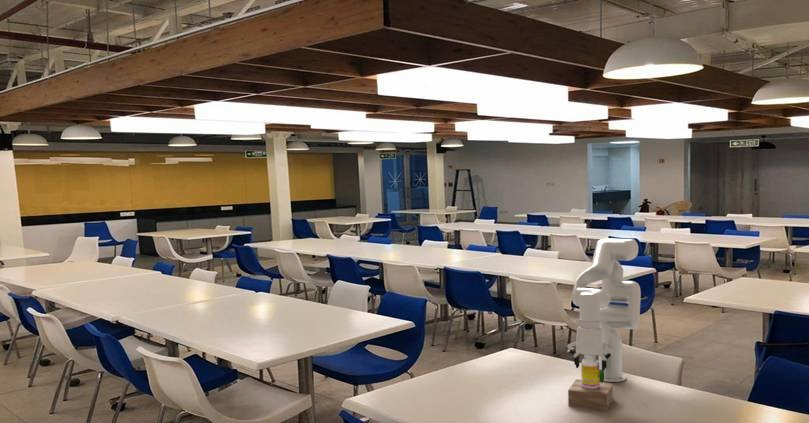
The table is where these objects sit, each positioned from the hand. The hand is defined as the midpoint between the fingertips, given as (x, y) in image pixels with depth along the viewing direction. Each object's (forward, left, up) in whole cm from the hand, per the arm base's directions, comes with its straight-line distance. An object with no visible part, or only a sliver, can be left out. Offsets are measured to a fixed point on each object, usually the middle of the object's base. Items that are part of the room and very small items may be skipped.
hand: (590, 368), depth 237 cm
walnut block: (0, 0, -13) cm, 13 cm away
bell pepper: (-16, -2, -13) cm, 21 cm away
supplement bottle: (0, 0, -7) cm, 7 cm away
